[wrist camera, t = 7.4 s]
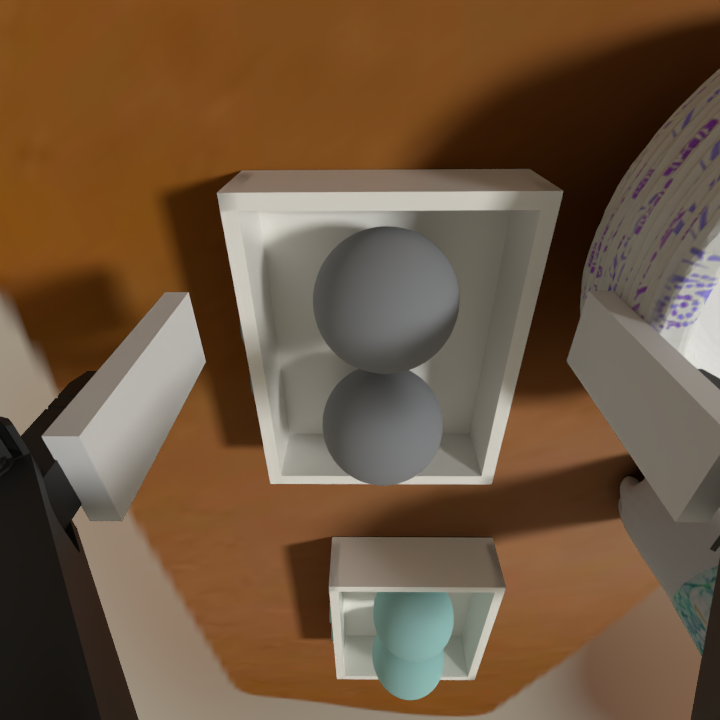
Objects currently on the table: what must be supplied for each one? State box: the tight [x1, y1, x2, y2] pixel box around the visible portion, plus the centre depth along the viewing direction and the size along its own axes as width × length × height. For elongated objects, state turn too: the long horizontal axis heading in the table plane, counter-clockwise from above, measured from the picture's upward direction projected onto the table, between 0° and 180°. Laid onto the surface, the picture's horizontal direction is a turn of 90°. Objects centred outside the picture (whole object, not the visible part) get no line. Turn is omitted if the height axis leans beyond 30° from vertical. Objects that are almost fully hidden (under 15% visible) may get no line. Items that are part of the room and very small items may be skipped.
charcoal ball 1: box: [313, 226, 460, 374], centre depth 17 cm, size 6×6×6 cm
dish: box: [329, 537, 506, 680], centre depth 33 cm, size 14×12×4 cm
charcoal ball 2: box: [323, 369, 443, 486], centre depth 20 cm, size 6×6×6 cm
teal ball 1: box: [373, 592, 454, 662], centre depth 30 cm, size 6×6×6 cm
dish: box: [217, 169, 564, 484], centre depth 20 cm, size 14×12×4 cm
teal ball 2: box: [372, 634, 444, 700], centre depth 34 cm, size 6×6×6 cm
